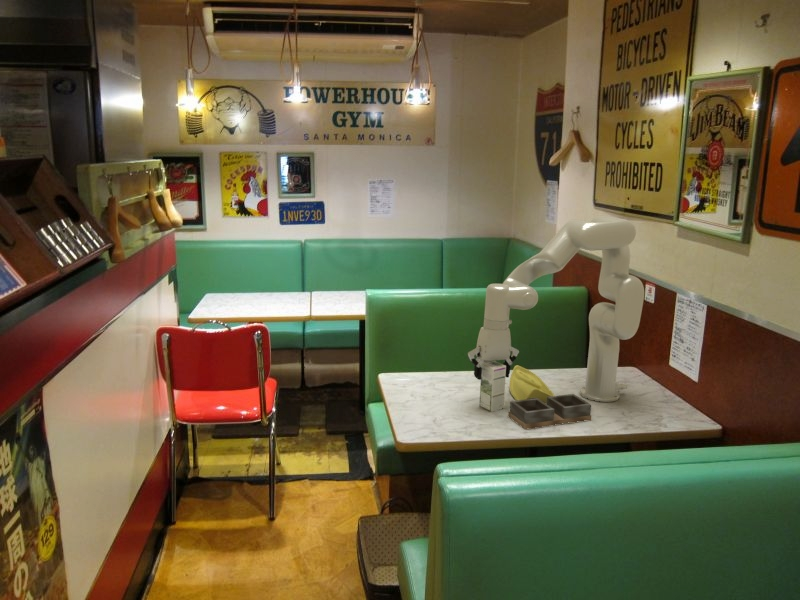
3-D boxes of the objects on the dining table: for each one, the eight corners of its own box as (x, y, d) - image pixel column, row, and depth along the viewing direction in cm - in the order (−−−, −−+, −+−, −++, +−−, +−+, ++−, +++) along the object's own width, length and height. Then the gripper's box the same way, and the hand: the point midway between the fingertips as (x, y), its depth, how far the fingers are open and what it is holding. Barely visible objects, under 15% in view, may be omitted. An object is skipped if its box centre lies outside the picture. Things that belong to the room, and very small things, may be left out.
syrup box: (504, 408, 215) (507, 364, 211) (490, 412, 211) (493, 367, 208) (492, 402, 219) (495, 359, 216) (478, 406, 216) (480, 362, 213)
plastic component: (557, 398, 218) (531, 387, 215) (545, 417, 220) (520, 406, 217) (536, 373, 237) (512, 362, 234) (526, 391, 238) (502, 380, 236)
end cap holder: (572, 408, 216) (573, 393, 215) (591, 420, 207) (592, 404, 206) (508, 416, 208) (509, 401, 207) (524, 429, 199) (526, 413, 198)
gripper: (514, 320, 215) (510, 371, 219) (465, 322, 209) (461, 375, 213) (526, 326, 209) (522, 379, 212) (476, 328, 203) (472, 383, 206)
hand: (491, 377), depth 213 cm, fingers open, 9 cm apart
